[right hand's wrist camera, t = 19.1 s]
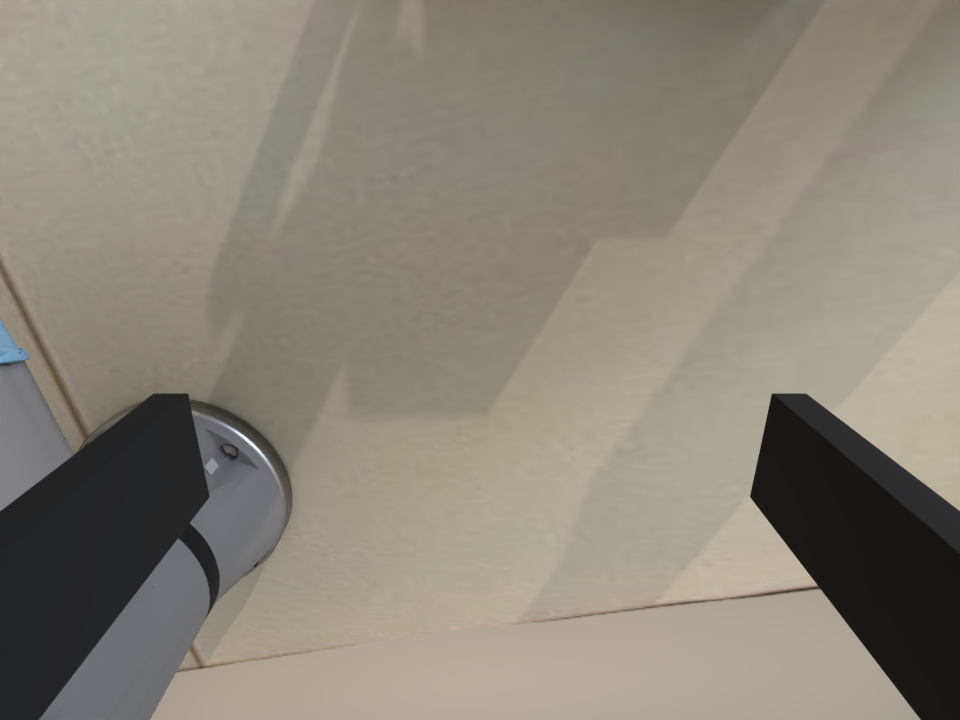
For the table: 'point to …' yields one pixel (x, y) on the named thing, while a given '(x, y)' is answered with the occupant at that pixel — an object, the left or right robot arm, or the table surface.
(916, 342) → the table surface
